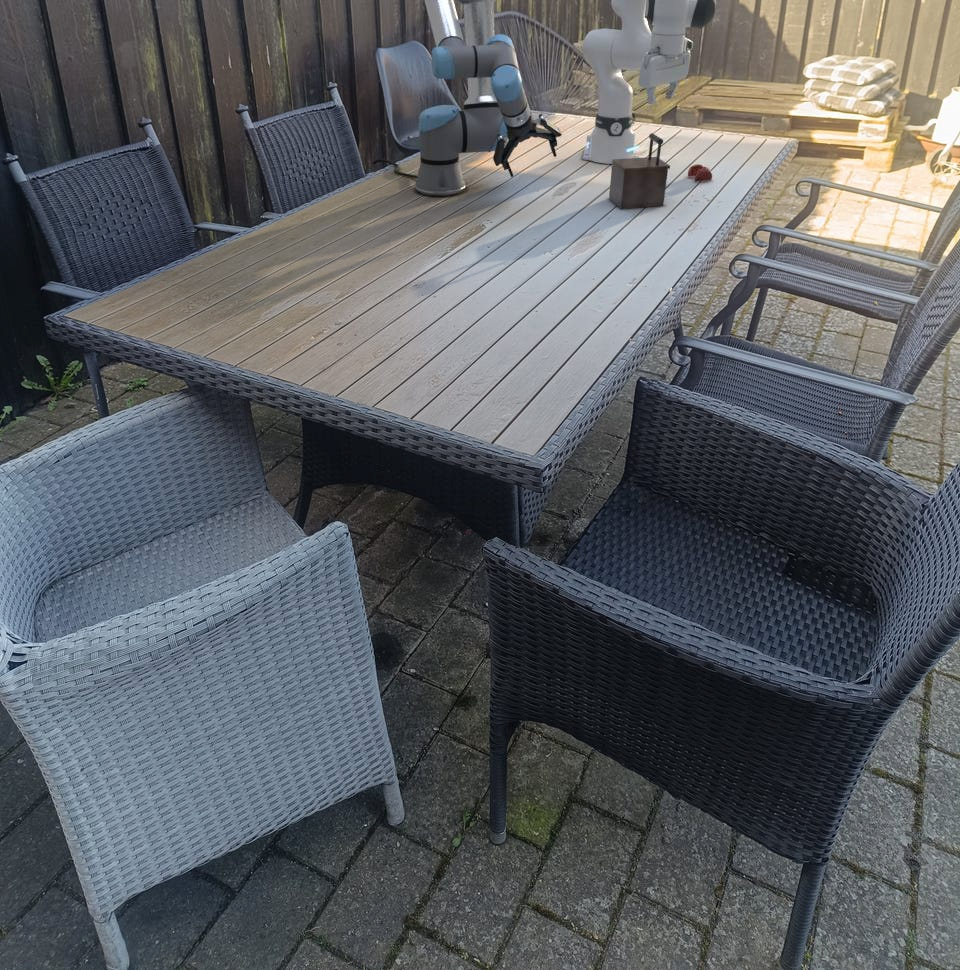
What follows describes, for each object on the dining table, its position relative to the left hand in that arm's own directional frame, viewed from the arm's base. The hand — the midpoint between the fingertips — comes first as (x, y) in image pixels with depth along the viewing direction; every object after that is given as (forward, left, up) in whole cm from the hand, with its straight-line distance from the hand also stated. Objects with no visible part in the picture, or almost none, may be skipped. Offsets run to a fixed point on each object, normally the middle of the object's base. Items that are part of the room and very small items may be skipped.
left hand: (532, 163), depth 246 cm
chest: (+26, +16, -10) cm, 33 cm away
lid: (+27, +16, 0) cm, 31 cm away
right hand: (+29, +19, +17) cm, 39 cm away
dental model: (+30, +50, -10) cm, 59 cm away
